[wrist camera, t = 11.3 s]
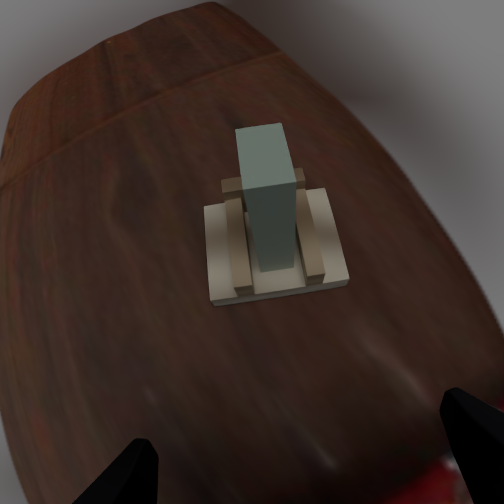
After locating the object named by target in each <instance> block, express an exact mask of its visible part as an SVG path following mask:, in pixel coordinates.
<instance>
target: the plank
mask: <svg viewBox="0 0 504 504" xmlns="http://www.w3.org/2000/svg"><path fill="white" fill-rule="evenodd" d="M235 131H236V139H237V147H238V155H239V163H240V171H241V179H242V187H243V193H244V197H245V202H246V207H247V211H248V216H249V220H250V225H251V230H252V234H253V239H254V244H255V248H256V253H257V258H258V262H259V267H260V272H261V273H262V272H269V271H275V270H282V269H289V268H294V254H295V225H296V184H297V182H296V178H295V174H294V170H293V166H292V162H291V158H290V154H289V150H288V146H287V143H286V139H285V135H284V131H283V128H282V124H281V123H277V124H269V125H262V126H255V127H248V128H242V129H235Z"/></svg>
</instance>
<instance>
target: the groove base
mask: <svg viewBox="0 0 504 504" xmlns="http://www.w3.org/2000/svg"><path fill="white" fill-rule="evenodd" d="M293 170H294V174H295V178H296V182H297V184H296V225H295V254H294V268H289V269H282V270H275V271H269V272H262V273H261V272H260V267H259V262H258V258H257V253H256V248H255V244H254V239H253V234H252V230H251V225H250V220H249V216H248V211H247V207H246V202H245V197H244V193H243V187H242V179H241V177H236V178H230V179H224V180H221V183H222V193H223V196H224V200H225V203H221V204H216V205H210V206H204V216H205V234H206V250H207V265H208V279H209V292H210V301H211V302H212V303H213V305H214V306H220V305H227V304H235V303H242V302H249V301H256V300H262V299H269V298H275V297H282V296H288V295H294V294H301V293H307V292H313V291H318V290H324V289H330V288H336V287H341V286H346V285H347V283H348V281H349V275H348V271H347V267H346V263H345V259H344V255H343V251H342V247H341V244H340V240H339V236H338V232H337V229H336V225H335V222H334V218H333V214H332V211H331V208H330V204H329V201H328V197H327V194H326V191H325V188H320V189H313V190H306V191H305V177H304V173H303V170H302V168H295V169H293Z"/></svg>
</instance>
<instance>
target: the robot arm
mask: <svg viewBox="0 0 504 504" xmlns="http://www.w3.org/2000/svg"><path fill="white" fill-rule="evenodd" d="M440 416H441V419H442V422H443V425H444V428H445V431H446V434H447V437H448V440H449V443H450V447H451V450H452V452H453V455H454V457H455V460H456V462H457V464H458V466H459V469H460V471H461V473H462V476H463V478H464V481H465V483H466V485H467V488H468V490H469V493H470V495H471V498H472V500H473V503H474V504H504V413H503V412H501V411H500V410H498V409H496V408H494V407H492V406H491V405H489V404H487V403H485V402H483V401H482V400H480V399H478V398H476V397H474V396H473V395H471V394H469V393H467V392H465V391H464V390H462V389H460V388H458V387H455V388H452V389H449V390H447V391H446V392H445V393H444V396H443V399H442V402H441V405H440ZM158 463H159V458H158V454H157V452H156V451H155V449H154V447H153V446H152V444H151V443H150V441H149V440H148V439H142V438H136V439H134V440H133V441H132V442H131V443H130V444H129V445H128V446H127V447H126V448H125V449H124V450H123V451H122V453H121V454H120V455H119V456H118V457H117V458H116V459H115V460H114V461H113V462H112V463H111V464H110V465H109V466H108V467H107V468H106V469H105V470H104V471H103V472H102V473H101V475H100V476H99V477H98V478H97V479H96V480H95V481H94V482H93V483H92V484H91V485H90V486H89V487H88V488H87V489H86V490H85V491H84V492H83V493H82V494H81V495H80V496H79V497H78V498H77V499H76V500H75V501H74V502H73V503H72V504H157V492H158Z"/></svg>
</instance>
